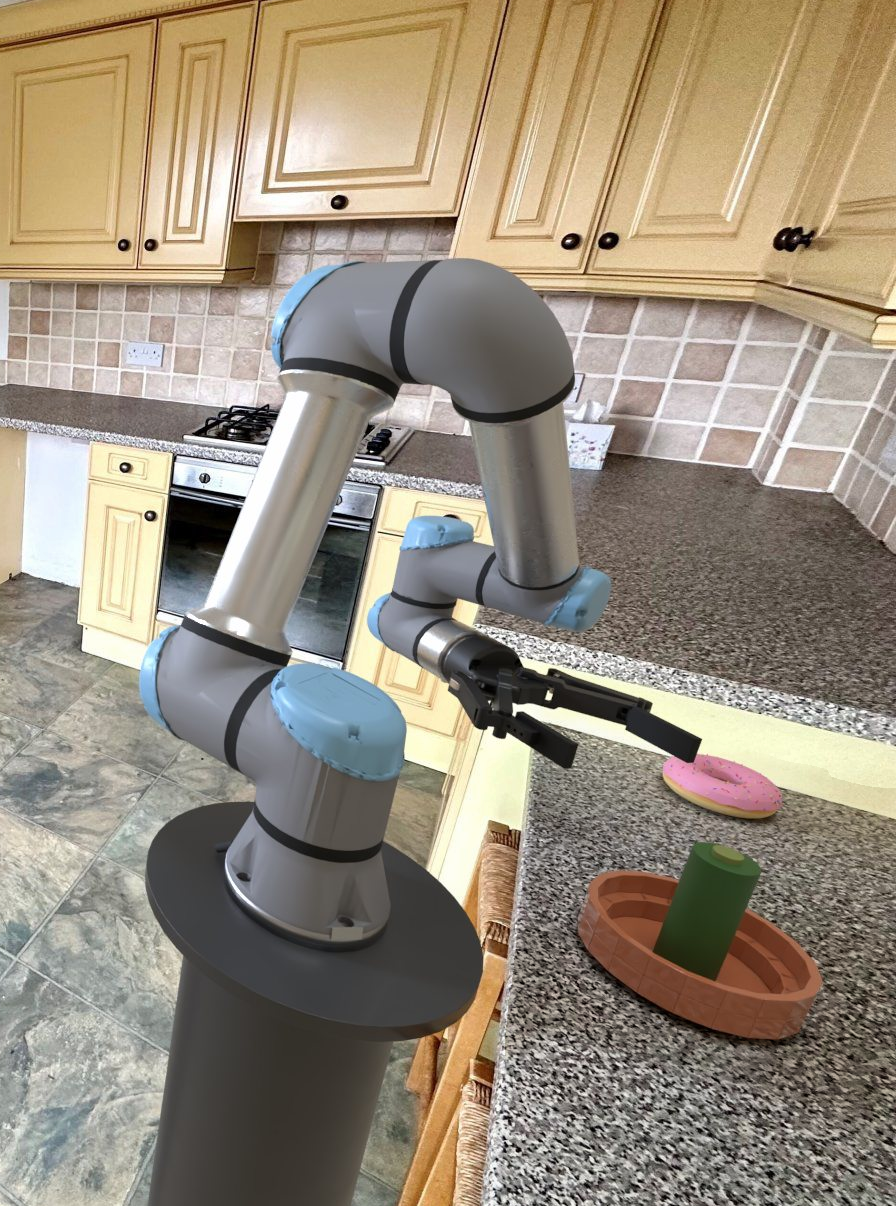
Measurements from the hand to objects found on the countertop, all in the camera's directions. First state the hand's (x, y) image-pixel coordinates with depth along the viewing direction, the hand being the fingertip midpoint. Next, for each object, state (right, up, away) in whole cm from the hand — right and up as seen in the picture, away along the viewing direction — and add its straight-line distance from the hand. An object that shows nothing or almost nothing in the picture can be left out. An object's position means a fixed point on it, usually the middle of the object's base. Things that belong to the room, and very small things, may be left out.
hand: (634, 754), depth 76 cm
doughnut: (+31, -11, +23) cm, 40 cm away
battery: (+1, -19, -4) cm, 19 cm away
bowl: (+1, -19, -4) cm, 20 cm away
